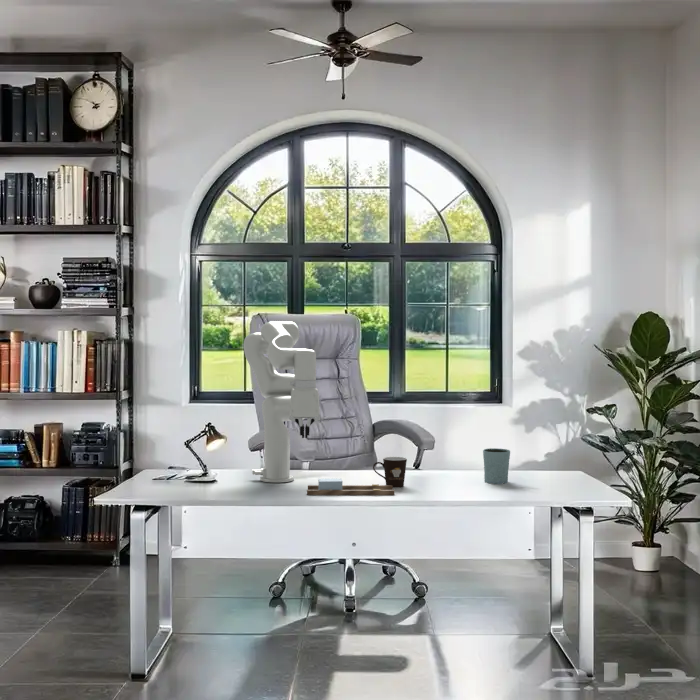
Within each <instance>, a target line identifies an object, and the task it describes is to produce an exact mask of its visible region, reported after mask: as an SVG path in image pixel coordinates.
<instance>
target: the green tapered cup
mask: <svg viewBox="0 0 700 700" xmlns="http://www.w3.org/2000/svg"><path fill="white" fill-rule="evenodd" d="M482 456H483V466H484V467H483V469H484V471H483V472H484V475H483V476H484V477H483V479H484V483H486V482H487V483H486V484H490V483H493V484H492V485H503V484H502V483H505V484H508V483H507V482H508V481H509V467H510V459H511V457H510V456H511V450H510V449H506V448H491V447H490V448H484V449H483V450H482Z"/></svg>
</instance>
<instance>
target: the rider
mask: <svg viewBox="0 0 700 700" xmlns="http://www.w3.org/2000/svg"><path fill="white" fill-rule="evenodd" d="M317 480H318V483H317V485H318V490H329V489H332V490H342V485H343V480H342V478H340V477H339V478H338V477H337V478H336V477H335V478H333V477H332V478H318V479H317Z"/></svg>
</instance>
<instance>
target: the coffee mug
mask: <svg viewBox="0 0 700 700" xmlns="http://www.w3.org/2000/svg"><path fill="white" fill-rule="evenodd" d="M382 461H383V462H381V461H377V462H374V463H373V466H372V469H373V471H374V472H375V473H376V474H377V475H378V476H379V477H381V478H383V479H384V480H385V485H392V486H393V488H403V487H404V485H405V477H406V470H407V461H408V458H407V457H403V456H402V457H401V456H385V457H383V458H382ZM378 464H380V465H381V466H382V467H383V470H384V471H383V472H384V475H382V474H381V473H379V472H378V471H376V468H375V466H376V465H378Z"/></svg>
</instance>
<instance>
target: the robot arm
mask: <svg viewBox="0 0 700 700" xmlns="http://www.w3.org/2000/svg"><path fill="white" fill-rule="evenodd" d="M299 338H300V329H299V327H298V324H296V323H295V322H293V321H290V320H289V321H287V320H286V321H283V320H282V321H280V320H279V321H278V320H277V321H276V320H275V321H274V320H272V321H267V322H265V323H264V324H263V325H262V326H261V329H260V332H254V333H253V332H252V333H250V334H248V335H247V336H246V337H245V338H244V339H243V340H244V341H243V351H244V352H243V353H244V357H245V358H246V359H245V360H246V361H247V363H248V365H249V367H250V368H251V369H252V371H253V374H254V377H255V380H256V384H257V386H258V389H259V391H260V395H261V396H262V397H263V398H264V399H263V401H262V403H261V411H262V412H261V413H262V418H263V425H264V428H263V429H264V432H263V433H264V437H263V438H264V441H263V442H264V452H263V453H264V459H263V461H264V464H263V465H264V467H263V468H260V469H255V468H254V469H253V468H252V472H251V473H252V475H253V476H254V475H255V476H259V475H260V477H259V481H260V482H264V483H276V484H277V483H288V482H293V481H294V480H295V477H294V476H293V475H291V461H290V460H291V459H290V458H291V435H290V433H291V432H290V430H289V429H288V427H287V425H285V423H284V422H295V423H296V424H297V425H298V426H299V436H301V439H304V438H305V439H308V436H310V427H311V425H312V424H313V423H315V422H318V421H321V415H320V409H321V408H320V395H319V394H320V393H319V390H318V388H316V387H317V384H316V383H317V379H316V378H317V375H316V374H317V373H316V371H317V370H316V369H317V353H316V350H313V349H309V348H303V347H302V348H294V346H295V345H296V343H297V342H298V341H299ZM266 355H267V356H266ZM277 369H278V370H282V371H283V370H285V371H288V370H293V374H292V373H279V372H278V370H277ZM305 419H306V424H304V423H303V422H304V421H303V420H305Z"/></svg>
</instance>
